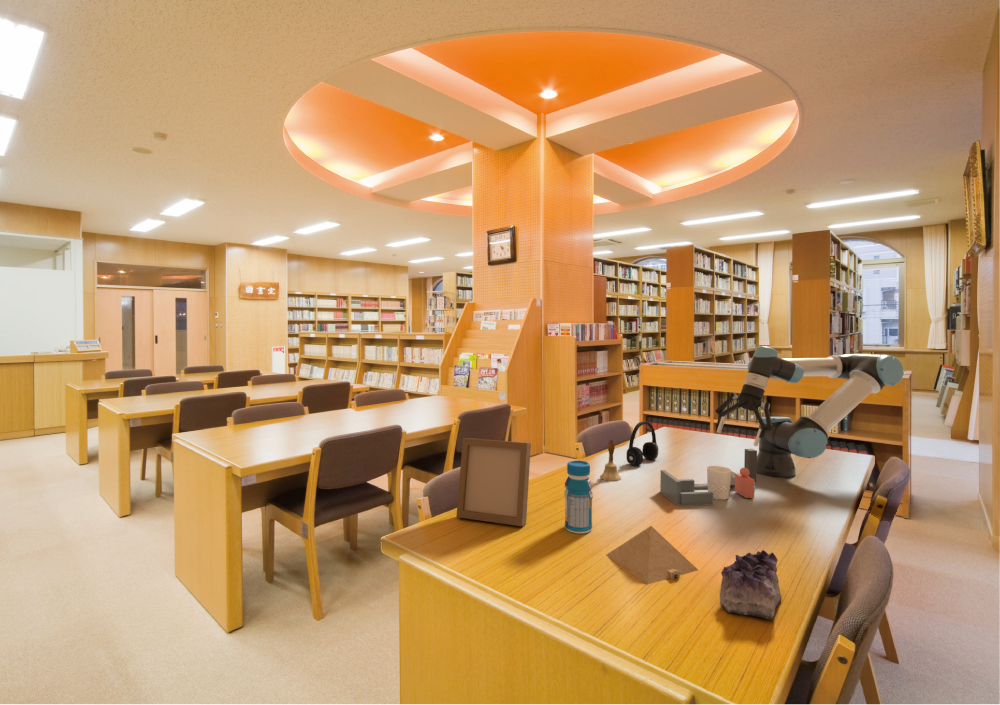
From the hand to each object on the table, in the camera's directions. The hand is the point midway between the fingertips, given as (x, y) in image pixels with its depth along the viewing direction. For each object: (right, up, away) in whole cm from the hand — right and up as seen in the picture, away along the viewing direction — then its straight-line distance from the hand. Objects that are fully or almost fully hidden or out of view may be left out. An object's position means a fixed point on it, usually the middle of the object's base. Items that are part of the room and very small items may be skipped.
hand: (736, 439), depth 180 cm
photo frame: (-91, -20, -27) cm, 97 cm away
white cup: (-12, -19, -11) cm, 25 cm away
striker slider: (+1, -18, -6) cm, 19 cm away
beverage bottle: (-66, -20, -37) cm, 79 cm away
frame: (-23, -18, -12) cm, 32 cm away
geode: (-34, -22, -75) cm, 85 cm away
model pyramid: (-51, -22, -58) cm, 80 cm away
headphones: (-26, -17, +33) cm, 45 cm away
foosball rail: (-10, -18, -1) cm, 21 cm away
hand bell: (-45, -18, +11) cm, 50 cm away
